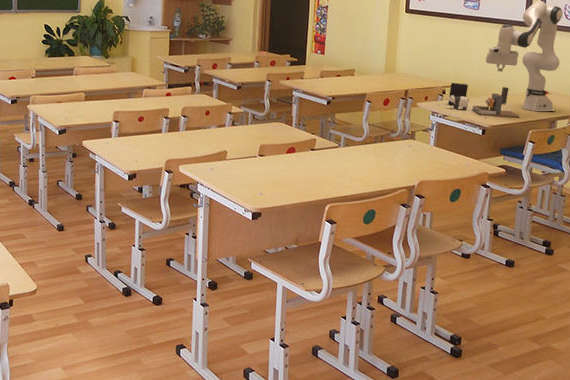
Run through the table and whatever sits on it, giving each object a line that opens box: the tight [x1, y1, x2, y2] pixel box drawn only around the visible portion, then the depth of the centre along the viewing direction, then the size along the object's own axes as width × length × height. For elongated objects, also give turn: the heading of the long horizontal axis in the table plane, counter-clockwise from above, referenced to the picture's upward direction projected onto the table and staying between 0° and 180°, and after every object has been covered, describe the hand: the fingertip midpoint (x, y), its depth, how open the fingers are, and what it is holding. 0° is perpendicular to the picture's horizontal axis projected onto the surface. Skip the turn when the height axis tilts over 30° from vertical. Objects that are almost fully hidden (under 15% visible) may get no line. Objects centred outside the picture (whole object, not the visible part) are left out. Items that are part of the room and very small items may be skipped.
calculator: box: [448, 82, 469, 106], centre depth 561 cm, size 11×4×15 cm, turn 84°
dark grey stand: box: [471, 93, 520, 119], centre depth 542 cm, size 27×16×13 cm, turn 94°
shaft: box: [485, 86, 509, 105], centre depth 540 cm, size 13×3×11 cm, turn 94°
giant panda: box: [446, 95, 470, 111], centre depth 548 cm, size 15×6×10 cm, turn 91°
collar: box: [486, 97, 494, 108], centre depth 541 cm, size 2×6×5 cm, turn 4°
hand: (499, 71), depth 535 cm, fingers closed
